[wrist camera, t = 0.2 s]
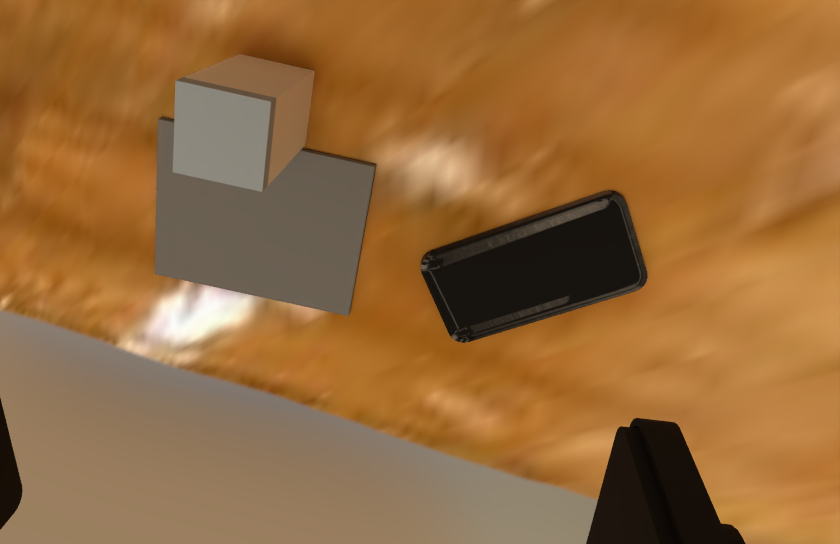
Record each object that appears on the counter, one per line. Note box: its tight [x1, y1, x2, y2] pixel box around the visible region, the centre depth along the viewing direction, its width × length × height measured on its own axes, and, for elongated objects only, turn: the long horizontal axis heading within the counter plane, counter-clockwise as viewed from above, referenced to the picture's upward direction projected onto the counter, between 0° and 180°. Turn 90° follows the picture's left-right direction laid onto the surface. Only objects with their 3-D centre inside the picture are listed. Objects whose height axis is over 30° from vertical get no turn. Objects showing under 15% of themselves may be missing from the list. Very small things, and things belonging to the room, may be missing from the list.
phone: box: [421, 190, 647, 343], centre depth 47 cm, size 8×1×15 cm
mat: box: [155, 117, 376, 316], centre depth 47 cm, size 12×15×1 cm
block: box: [173, 54, 315, 192], centre depth 39 cm, size 5×5×10 cm
